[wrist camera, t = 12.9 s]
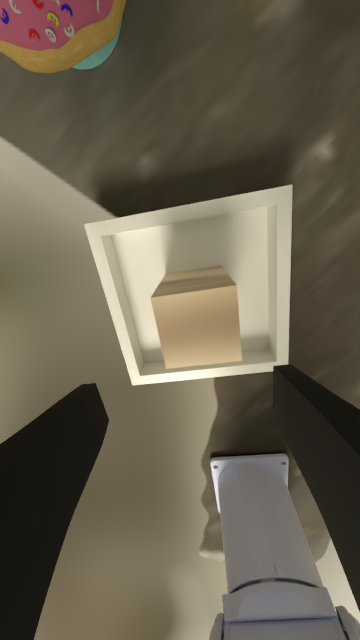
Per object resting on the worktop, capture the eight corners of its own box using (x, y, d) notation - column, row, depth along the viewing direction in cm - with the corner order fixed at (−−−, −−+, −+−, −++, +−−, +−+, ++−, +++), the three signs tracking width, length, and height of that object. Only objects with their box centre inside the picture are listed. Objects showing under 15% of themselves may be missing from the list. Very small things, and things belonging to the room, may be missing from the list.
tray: (276, 352, 18) (288, 369, 16) (139, 367, 20) (132, 385, 18) (276, 191, 14) (292, 184, 12) (99, 225, 15) (84, 224, 13)
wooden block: (225, 317, 17) (242, 360, 11) (174, 324, 17) (166, 368, 12) (221, 265, 15) (236, 285, 10) (165, 274, 16) (150, 298, 10)
